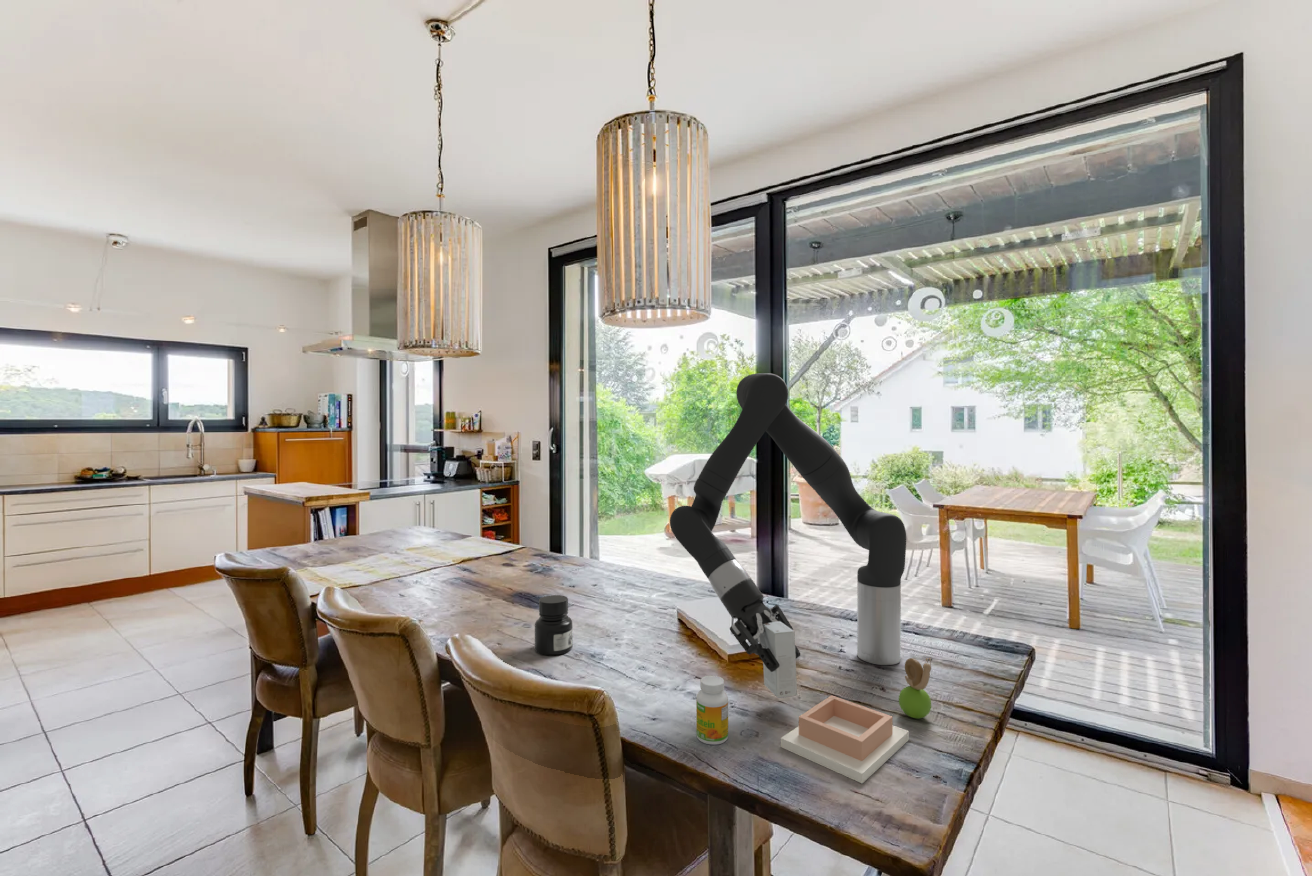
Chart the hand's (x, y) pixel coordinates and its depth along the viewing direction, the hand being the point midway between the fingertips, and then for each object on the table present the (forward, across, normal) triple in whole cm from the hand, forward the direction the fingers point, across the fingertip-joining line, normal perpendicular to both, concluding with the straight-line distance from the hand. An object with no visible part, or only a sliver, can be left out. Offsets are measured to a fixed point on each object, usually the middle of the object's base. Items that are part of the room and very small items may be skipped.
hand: (786, 663), depth 109 cm
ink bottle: (-33, -14, +45) cm, 58 cm away
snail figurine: (+19, +14, -7) cm, 25 cm away
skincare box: (+3, 0, +5) cm, 6 cm away
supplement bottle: (+4, -17, +9) cm, 20 cm away
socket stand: (+16, -3, -3) cm, 16 cm away
